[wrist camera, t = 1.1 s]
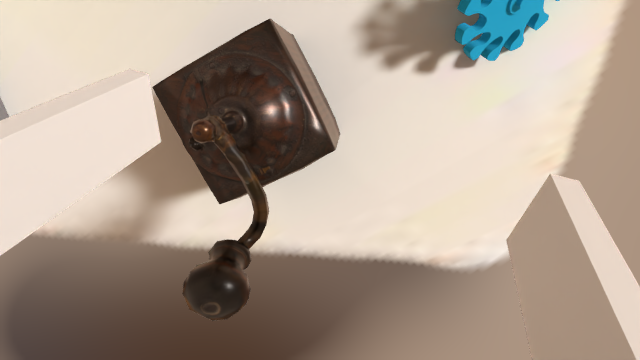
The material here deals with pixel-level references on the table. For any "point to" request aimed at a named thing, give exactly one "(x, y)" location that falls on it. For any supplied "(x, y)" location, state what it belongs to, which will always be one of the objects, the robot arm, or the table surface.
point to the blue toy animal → (498, 25)
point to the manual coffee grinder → (245, 141)
